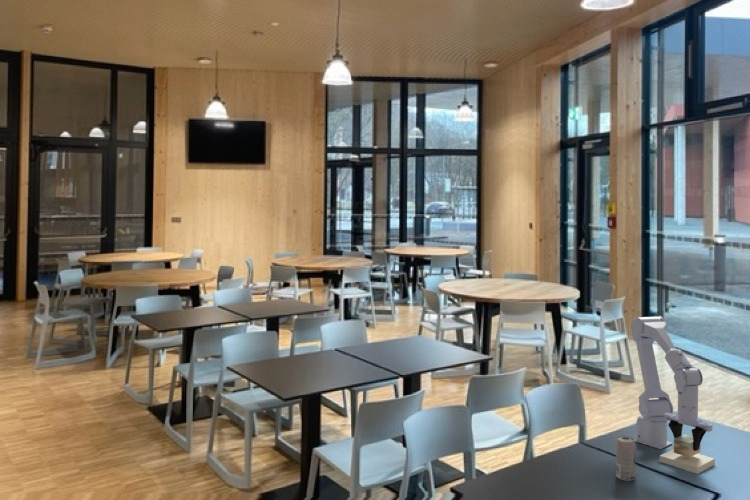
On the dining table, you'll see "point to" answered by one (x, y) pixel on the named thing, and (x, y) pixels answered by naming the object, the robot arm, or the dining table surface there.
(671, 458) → the white stand
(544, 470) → the dining table surface
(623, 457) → the energy drink
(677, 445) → the sage green block
